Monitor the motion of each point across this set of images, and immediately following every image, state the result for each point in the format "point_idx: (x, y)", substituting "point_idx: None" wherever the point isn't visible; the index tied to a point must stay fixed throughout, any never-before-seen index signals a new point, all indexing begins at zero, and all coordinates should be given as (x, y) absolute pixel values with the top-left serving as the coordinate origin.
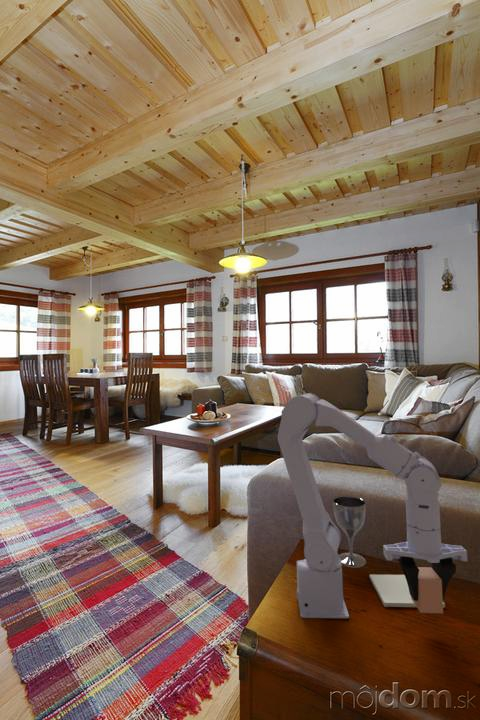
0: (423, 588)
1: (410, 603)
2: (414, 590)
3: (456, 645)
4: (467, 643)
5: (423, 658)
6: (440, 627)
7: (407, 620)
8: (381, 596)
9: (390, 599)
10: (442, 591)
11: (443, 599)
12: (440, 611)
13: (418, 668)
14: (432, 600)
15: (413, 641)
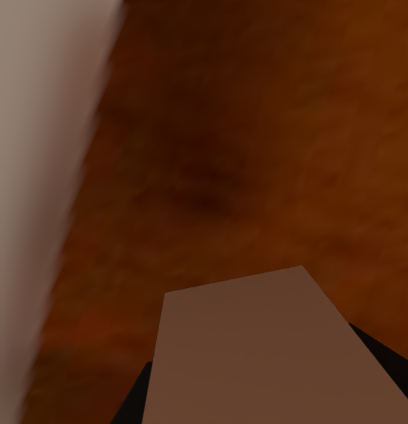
0: (344, 387)
1: None
2: (406, 367)
3: (135, 206)
4: (87, 229)
5: (297, 92)
6: None
7: None
8: None
9: None
10: (139, 415)
11: (143, 370)
12: (180, 295)
13: (336, 23)
14: (235, 327)
15: (311, 187)
